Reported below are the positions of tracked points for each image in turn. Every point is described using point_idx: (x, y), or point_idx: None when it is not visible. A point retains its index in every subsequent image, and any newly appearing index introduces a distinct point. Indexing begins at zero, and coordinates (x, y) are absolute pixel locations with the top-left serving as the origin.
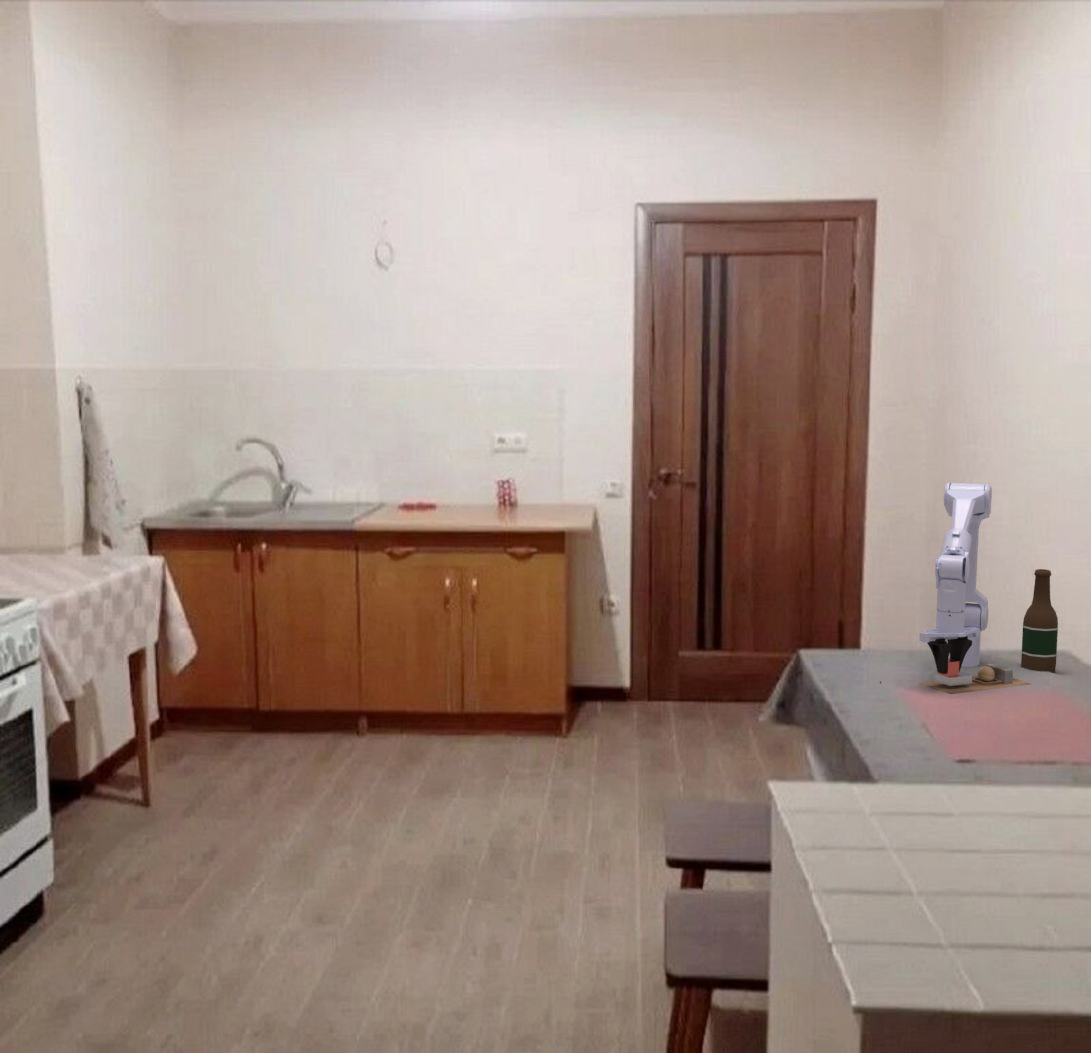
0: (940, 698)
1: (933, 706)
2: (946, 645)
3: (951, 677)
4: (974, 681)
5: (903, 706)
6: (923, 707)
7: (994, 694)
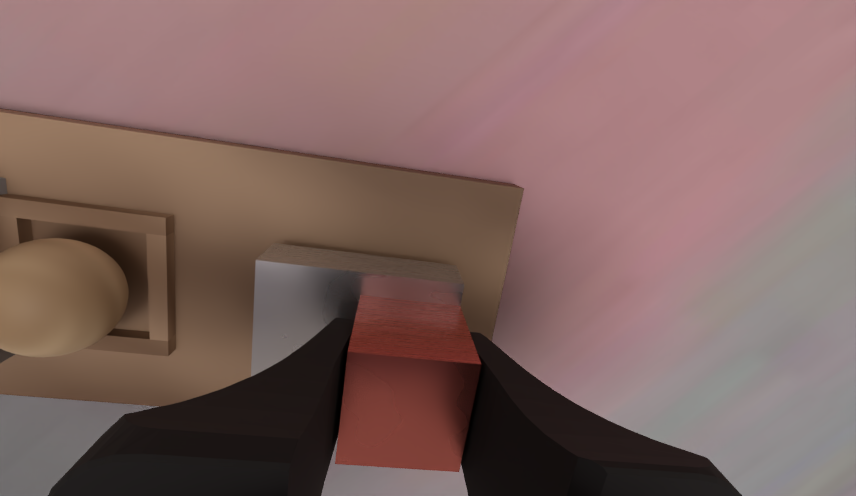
0: (539, 229)
1: (706, 136)
2: (705, 468)
3: (444, 287)
4: (172, 307)
5: (815, 217)
6: (762, 151)
7: (191, 130)
